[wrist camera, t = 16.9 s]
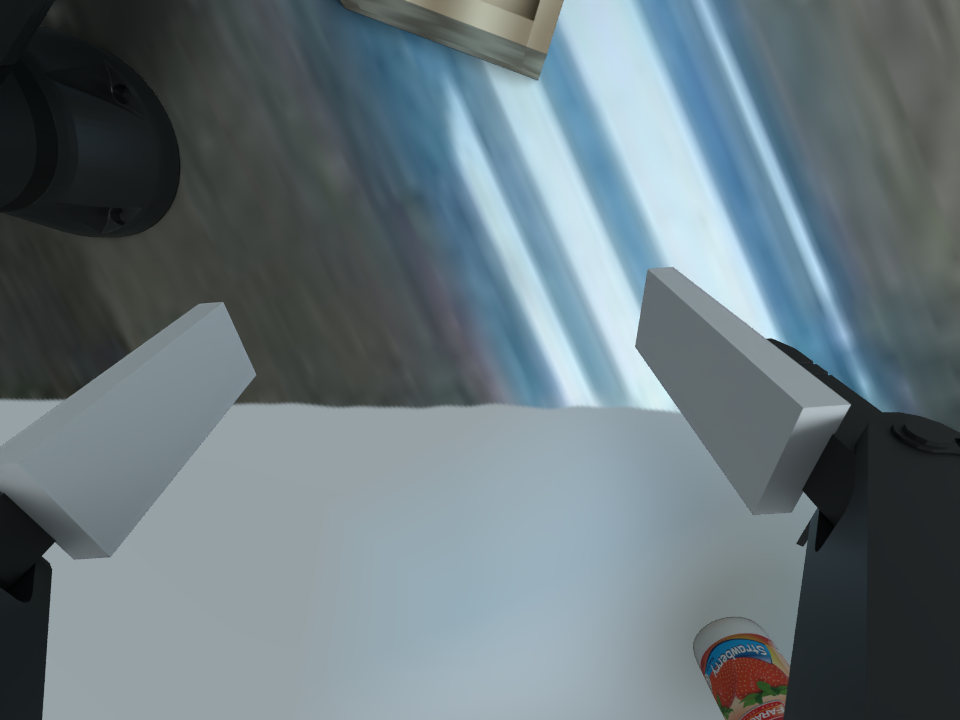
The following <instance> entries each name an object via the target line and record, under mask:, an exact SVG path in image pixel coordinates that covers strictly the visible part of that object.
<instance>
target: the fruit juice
mask: <svg viewBox="0 0 960 720" xmlns="http://www.w3.org/2000/svg"><path fill="white" fill-rule="evenodd" d="M693 650H694V655H695V658H696V660H697V663H698V665H699V667H700V669H701V671H702V673H703V675H704V677H705V679H706V681H707V683H708V685H709V688H710V690H711V691H712V694H713V696H714V698H715V700H716V702H717V704H718V706H719V708H720V710H721V712H722V714H723V716H724V718H725V720H783V716H784V709H785V702H786V694H787V687H788V680H789V673H790V666H789V664H788V663H787V661H786V660H785V658H784V657H783V656H782V654H781V653H780V651H779V650H778V648H777V647H776V646H775V644H774V643H773V641H772V640H771V639H770V637H769V636H768V634H767V633H766V632H765V631H764V630H763V628H761V627H760V626H759V625H758V624H757V623H755V622H754V621H752V620H749V619H746V618H742V617H727V618H722V619H719V620H716V621H714V622H711V623H710V624H708V625H706V626H705V627H704V628H703V629H702V630H700V632H699V633H698V634H697V636H696V637H695V640H694V645H693Z"/></svg>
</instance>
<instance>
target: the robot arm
mask: <svg viewBox="0 0 960 720" xmlns="http://www.w3.org/2000/svg"><path fill="white" fill-rule="evenodd" d="M54 1H55V0H0V213H5V214H8V215H12V216H15V217H18V218H21V219H25V220H28V221H31V222H34V223H38V224H41V225H44V226H47V227H51V228H54V229H57V230H60V231H64V232H67V233H71V234H75V235H81V236H89V237H121V236H128V235H133V234H136V233H139V232H142V231H144V230H146V229H148V228H149V227H151V226H153V225H154V224H155V223H156V222H158V221H159V220H160V219H161V218H162V217H163V215H164V214H165V213H166V211H167V210H168V209H169V207H170V205H171V203H172V201H173V199H174V196H175V193H176V190H177V186H178V181H179V168H180V166H179V153H178V147H177V142H176V138H175V135H174V131H173V129H172V126H171V123H170V121H169V119H168V116H167V114H166V112H165V110H164V108H163V107H162V105H161V103H160V102H159V100H158V98H157V97H156V95H155V94H154V93H153V91H152V90H151V89H150V87H149V86H148V85H147V84H146V83H145V81H144V80H143V79H142V78H141V77H140V76H139V75H138V74H137V73H136V72H135V71H134V70H133V69H132V68H130V67H129V66H128V65H127V64H126V63H124V62H123V61H122V60H120V59H119V58H117V57H116V56H114V55H113V54H111V53H109V52H107V51H106V50H104V49H101V48H99V47H97V46H95V45H93V44H91V43H89V42H87V41H84V40H82V39H80V38H78V37H76V36H73V35H71V34H68V33H65V32H62V31H58V30H55V29H50V28H45V27H39V25H40V24H41V22H42V20H43V19H44V17H45V16H46V14H47V12H48V11H49V9H50V7H51V6H52V4H53V3H54ZM635 347H636V349H637V350H638V352H639V353H640V354H641V356H642V357H643V359H644V360H645V361H646V363H647V364H648V366H649V367H650V369H651V370H652V371H653V373H654V374H655V376H656V377H657V379H658V380H659V381H660V383H661V384H662V386H663V387H664V389H665V390H666V391H667V393H668V394H669V396H670V397H671V399H672V400H673V401H674V403H675V404H676V406H677V407H678V409H679V410H680V411H681V413H682V414H683V416H684V417H685V419H686V420H687V421H688V423H689V424H690V426H691V427H692V428H693V430H694V431H695V433H696V434H697V436H698V437H699V439H700V440H701V441H702V443H703V444H704V445H705V447H706V449H707V450H708V451H709V453H710V454H711V456H712V457H713V459H714V460H715V461H716V463H717V464H718V466H719V467H720V468H721V470H722V471H723V473H724V474H725V476H726V477H727V479H728V480H729V481H730V483H731V484H732V486H733V487H734V489H735V490H736V491H737V493H738V494H739V496H740V497H741V498H742V500H743V501H744V503H745V504H746V506H747V507H748V508H749V510H750V511H751V513H752V514H753V515H760V514H775V513H789V512H792V511H793V509H794V507H795V505H796V504H797V502H798V500H799V498H800V497H801V495H802V493H803V491H804V493H805V494H806V495H807V496H808V497H809V498H810V499H811V501H812V502H813V503H814V504H815V505H816V506H817V507H818V508H817V510H816V511H815V513H814V515H813V516H812V518H811V520H810V521H809V523H808V525H807V526H806V528H805V530H804V531H803V533H802V535H801V536H800V538H799V540H798V542H797V544H798V545H800V546H804V544H805V543H806V542H807V540H808V542H807V549H806V557H805V564H804V571H803V579H802V586H801V593H800V600H799V607H798V615H797V623H796V629H795V636H794V644H793V651H792V658H791V665H790V673H789V680H788V687H787V694H786V702H785V709H784V716H783V720H960V433H959V432H957V431H955V430H953V429H951V428H949V427H947V426H945V425H943V424H941V423H938V422H936V421H933V420H930V419H927V418H924V417H921V416H916V415H911V414H905V413H900V412H881V411H880V410H878V409H877V408H876V407H874V406H873V405H872V404H870V403H869V402H868V401H866V400H865V399H863V398H862V397H861V396H859V395H858V394H857V393H855V392H854V391H853V390H851V389H850V388H848V387H847V386H846V385H844V384H843V383H842V382H840V381H839V380H837V379H836V378H835V377H833V376H832V375H828V372H827V371H825V370H824V369H822V368H821V367H820V366H818V365H817V364H813V361H812V360H810V359H809V358H807V357H806V356H805V355H803V354H802V353H801V352H799V351H798V350H797V349H795V348H793V347H790V346H788V345H786V344H783V343H781V342H779V341H777V340H774V339H766V338H764V337H763V336H762V335H760V334H759V333H758V332H756V331H755V330H754V329H753V328H751V327H750V326H749V325H747V324H746V323H745V322H744V321H742V320H741V319H740V318H738V317H737V316H736V315H734V314H733V313H732V312H731V311H729V310H728V309H727V308H725V307H724V306H723V305H722V304H720V303H719V302H718V301H716V300H715V299H714V298H712V297H711V296H710V295H709V294H707V293H706V292H705V291H703V290H702V289H701V288H699V287H698V286H697V285H696V284H694V283H693V282H692V281H690V280H689V279H688V278H687V277H685V276H684V275H683V274H681V273H680V272H679V271H677V270H676V269H675V268H674V267H667V268H654V269H648V270H647V277H646V283H645V289H644V295H643V302H642V308H641V314H640V320H639V326H638V333H637V339H636V345H635ZM255 376H256V373H255V371H254V369H253V366H252V364H251V362H250V360H249V358H248V355H247V353H246V351H245V349H244V347H243V344H242V342H241V340H240V338H239V336H238V333H237V331H236V329H235V327H234V325H233V322H232V320H231V318H230V316H229V314H228V311H227V309H226V307H225V305H224V303H223V302H216V303H203V304H198V305H197V306H195V307H194V308H192V309H191V310H190V311H188V312H187V313H185V314H184V315H183V316H181V317H180V318H179V319H177V320H176V321H174V322H173V323H172V324H170V325H169V326H167V327H166V328H165V329H163V330H162V331H160V332H159V333H158V334H156V335H155V336H154V337H152V338H151V339H149V340H148V341H147V342H145V343H144V344H142V345H141V346H140V347H138V348H137V349H135V350H134V351H133V352H131V353H130V354H128V355H127V356H126V357H124V358H123V359H122V360H120V361H119V362H117V363H116V364H115V365H113V366H112V367H110V368H109V369H108V370H106V371H105V372H103V373H102V374H101V375H99V376H98V377H97V378H95V379H94V380H92V381H91V382H90V383H88V384H87V385H85V386H84V387H83V388H81V389H80V390H78V391H77V392H76V393H74V394H73V395H72V396H70V397H69V398H67V399H66V400H65V401H63V402H62V403H61V404H59V405H58V406H56V407H55V408H54V409H52V410H51V411H49V412H48V413H47V414H45V415H44V416H42V417H41V418H40V419H38V420H37V421H35V422H34V423H33V424H32V425H30V426H28V427H27V428H26V429H24V430H23V431H22V432H20V433H19V434H17V435H16V436H15V437H13V438H12V439H11V440H9V441H8V442H6V443H5V444H3V445H2V446H1V447H0V720H42V711H43V697H44V683H45V668H46V653H47V638H48V637H47V636H48V623H49V608H50V593H51V578H52V577H51V576H52V568H51V566H50V563H49V562H48V561H47V560H45V559H44V558H43V557H42V555H43V554H44V553H45V552H46V551H47V550H48V549H49V547H51V546H52V544H53V543H54V542H56V543H57V544H58V545H59V546H60V547H61V548H62V549H63V550H64V551H65V552H66V553H68V554H69V555H70V556H71V557H72V558H73V559H90V558H104V557H111V556H112V554H113V553H114V552H115V551H116V550H117V548H118V547H119V546H120V545H121V543H122V542H123V541H124V539H125V538H126V537H127V536H128V535H129V533H130V532H131V531H132V530H133V528H134V527H135V526H136V525H137V523H138V522H139V521H140V520H141V518H142V517H143V516H144V515H145V513H146V512H147V511H148V510H149V508H150V507H151V506H152V505H153V503H154V502H155V501H156V500H157V498H158V497H159V496H160V495H161V493H162V492H163V491H164V490H165V488H166V487H167V486H168V484H169V483H170V482H171V481H172V480H173V478H174V477H175V476H176V475H177V473H178V472H179V471H180V470H181V468H182V467H183V466H184V465H185V463H186V462H187V461H188V460H189V458H190V457H191V456H192V455H193V453H194V452H195V451H196V450H197V448H198V447H199V446H200V445H201V443H202V442H203V441H204V440H205V438H206V437H207V436H208V435H209V433H210V432H211V431H212V430H213V428H214V427H215V426H216V425H217V423H218V422H219V421H220V420H221V418H222V417H223V416H224V415H225V413H226V412H227V411H228V410H229V408H230V407H231V406H232V405H233V403H234V402H235V401H236V400H237V398H238V397H239V396H240V395H241V393H242V392H243V391H244V390H245V388H246V387H247V386H248V385H249V383H250V382H251V381H252V380H253V378H254V377H255Z"/></svg>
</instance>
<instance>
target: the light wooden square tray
mask: <svg viewBox="0 0 960 720" xmlns="http://www.w3.org/2000/svg"><path fill="white" fill-rule="evenodd" d="M340 1H341V3H342V4H343V6H344V7H345V8H346V9H348V10H351V11H354V12H357V13H359V14H362V15H365V16H367V17H370V18H373V19H375V20H378V21H381V22H383V23H386V24H389V25H391V26H394V27H397V28H399V29H402V30H405V31H408V32H410V33H413V34H416V35H418V36H421V37H424V38H426V39H429V40H432V41H434V42H437V43H440V44H442V45H445V46H448V47H450V48H453V49H456V50H459V51H461V52H464V53H467V54H469V55H472V56H475V57H477V58H480V59H483V60H485V61H488V62H491V63H493V64H496V65H499V66H502V67H504V68H507V69H510V70H512V71H515V72H518V73H520V74H523V75H526V76H528V77H531V78H534V79H536V80H538V78H539V76H540V73H541V70H542V67H543V64H544V61H545V58H546V55H547V52H548V49H549V46H550V43H551V39H552V36H553V33H554V30H555V27H556V23H557V20H558V17H559V14H560V11H561V7H562V4H563V1H564V0H340Z"/></svg>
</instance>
